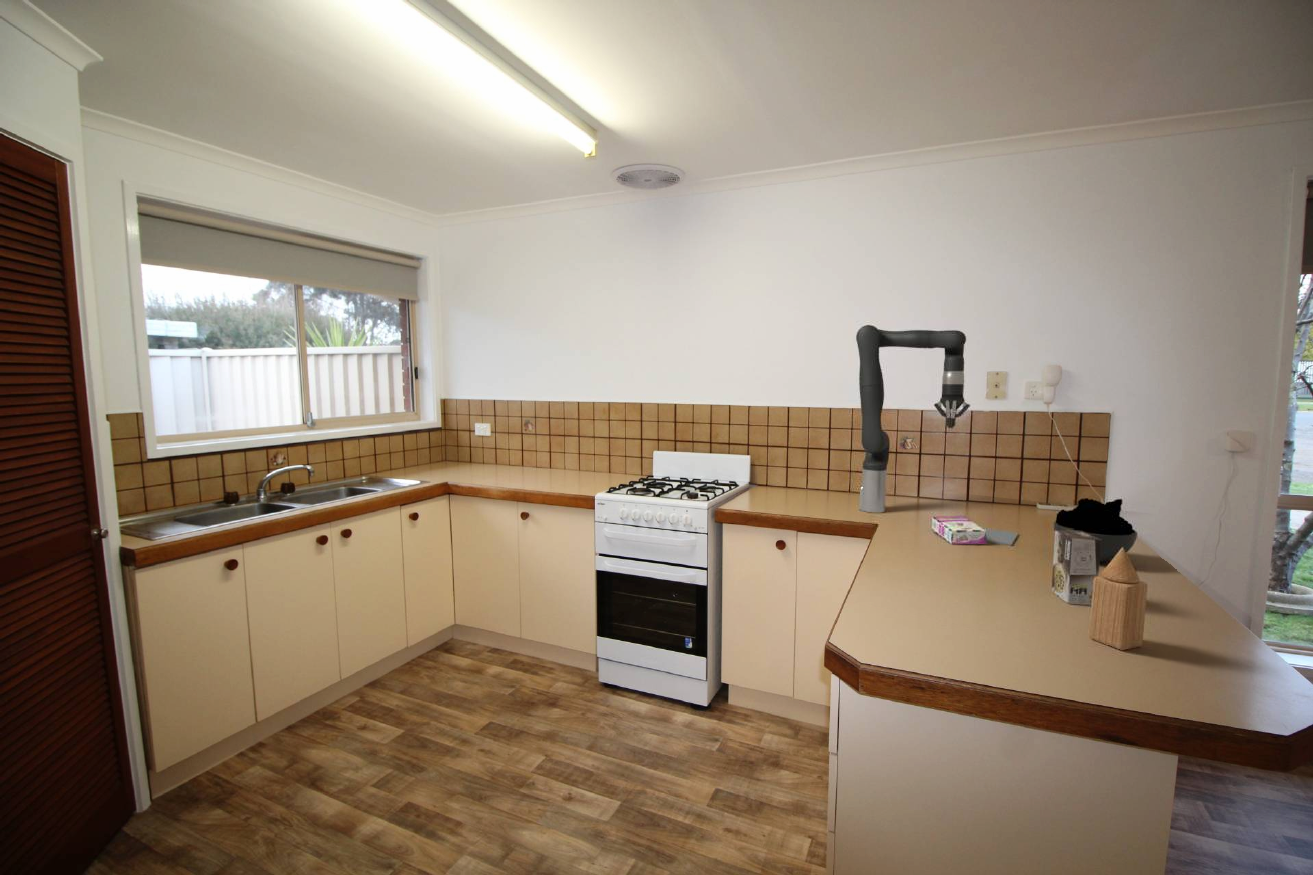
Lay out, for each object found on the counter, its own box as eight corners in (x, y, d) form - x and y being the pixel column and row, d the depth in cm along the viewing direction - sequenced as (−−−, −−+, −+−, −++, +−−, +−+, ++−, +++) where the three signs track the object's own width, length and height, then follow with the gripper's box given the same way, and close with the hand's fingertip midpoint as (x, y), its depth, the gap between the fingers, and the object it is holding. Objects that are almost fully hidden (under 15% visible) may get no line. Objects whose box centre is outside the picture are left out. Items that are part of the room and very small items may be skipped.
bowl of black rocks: (1055, 564, 172) (1060, 500, 171) (1047, 547, 190) (1051, 489, 188) (1142, 574, 163) (1148, 507, 161) (1125, 556, 181) (1130, 495, 179)
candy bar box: (931, 530, 209) (950, 545, 193) (931, 516, 208) (951, 530, 192) (964, 529, 208) (986, 544, 192) (964, 515, 207) (986, 529, 191)
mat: (957, 537, 201) (957, 535, 201) (967, 527, 216) (967, 525, 215) (1011, 545, 192) (1011, 543, 192) (1018, 534, 206) (1018, 532, 206)
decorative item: (1087, 638, 122) (1094, 543, 120) (1108, 633, 125) (1116, 540, 123) (1122, 652, 116) (1130, 552, 114) (1143, 646, 119) (1152, 549, 117)
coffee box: (1097, 606, 140) (1102, 539, 138) (1067, 604, 141) (1072, 538, 140) (1078, 592, 149) (1083, 530, 147) (1050, 590, 150) (1054, 528, 149)
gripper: (932, 383, 229) (930, 427, 231) (970, 383, 221) (967, 429, 223) (936, 383, 235) (934, 426, 237) (973, 383, 227) (971, 428, 229)
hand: (950, 427), depth 230 cm, fingers closed
